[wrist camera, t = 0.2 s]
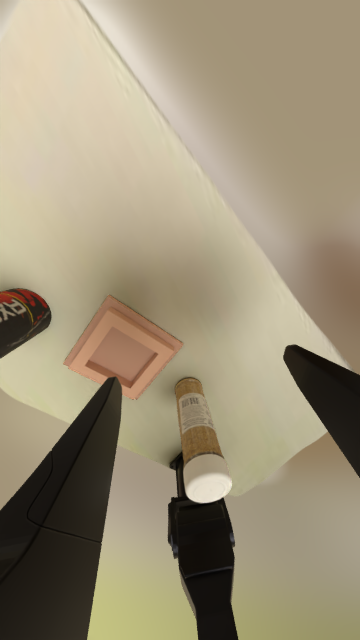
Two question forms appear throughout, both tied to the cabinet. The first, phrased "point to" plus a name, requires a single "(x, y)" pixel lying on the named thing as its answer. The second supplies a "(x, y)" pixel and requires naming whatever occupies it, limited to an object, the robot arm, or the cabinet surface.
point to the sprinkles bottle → (200, 446)
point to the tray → (122, 348)
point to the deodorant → (21, 318)
